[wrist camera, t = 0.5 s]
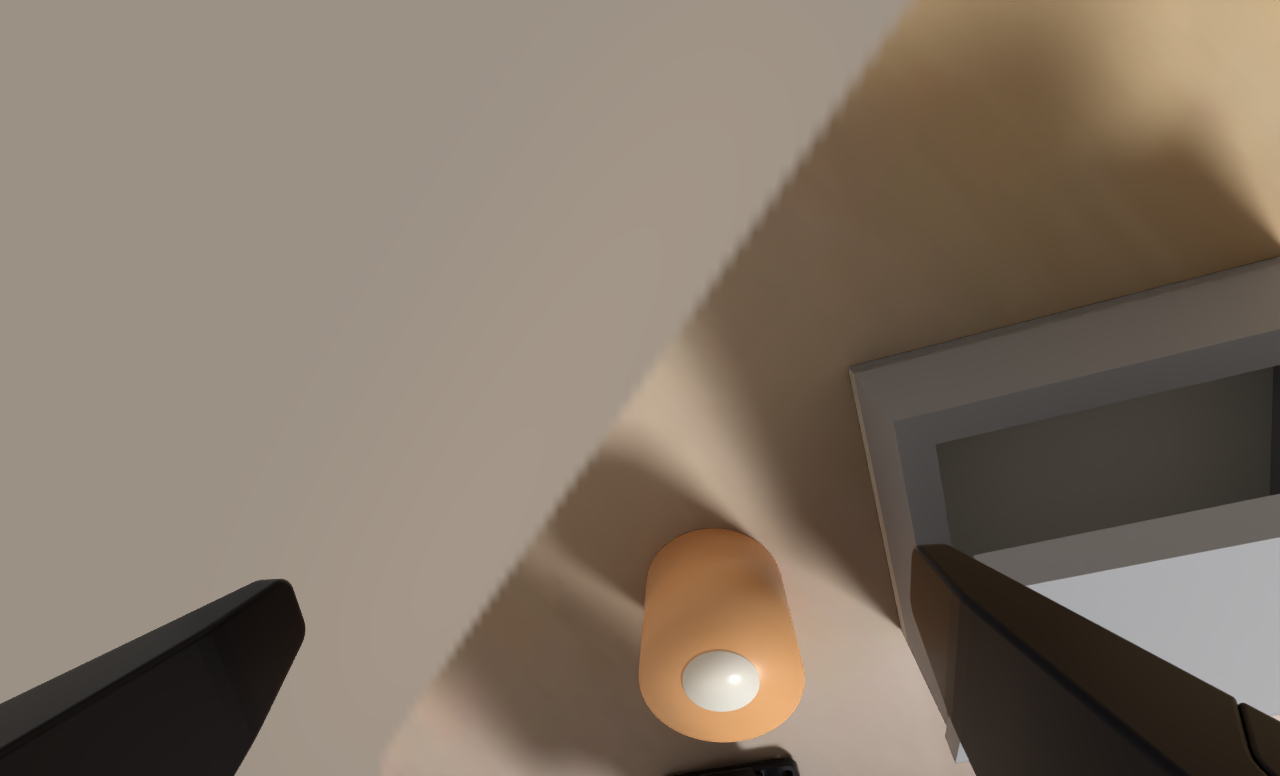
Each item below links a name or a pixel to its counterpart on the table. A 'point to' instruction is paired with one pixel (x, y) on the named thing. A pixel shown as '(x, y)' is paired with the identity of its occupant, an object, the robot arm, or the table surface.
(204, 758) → the robot arm
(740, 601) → the orange round cylinder
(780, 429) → the table surface
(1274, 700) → the lid
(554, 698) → the table surface
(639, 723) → the table surface
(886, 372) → the carton
